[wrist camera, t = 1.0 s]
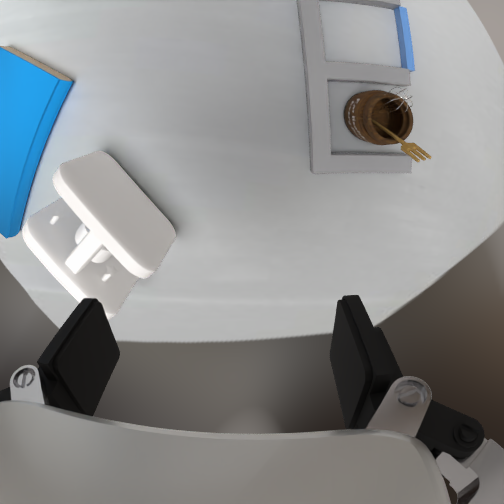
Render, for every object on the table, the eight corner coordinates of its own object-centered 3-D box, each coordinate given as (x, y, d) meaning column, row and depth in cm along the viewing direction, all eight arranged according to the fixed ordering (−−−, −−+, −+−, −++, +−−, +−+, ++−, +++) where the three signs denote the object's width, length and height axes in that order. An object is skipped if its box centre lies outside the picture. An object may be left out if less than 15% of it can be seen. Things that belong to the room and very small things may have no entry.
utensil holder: (380, 87, 29) (434, 81, 18) (395, 137, 31) (451, 153, 20) (335, 97, 30) (374, 92, 19) (351, 149, 32) (395, 169, 21)
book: (-46, 189, 30) (-8, 44, 20) (-30, 181, 34) (10, 45, 24) (9, 241, 34) (59, 79, 25) (25, 230, 38) (78, 80, 28)
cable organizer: (186, 234, 37) (160, 283, 27) (134, 277, 40) (102, 330, 30) (108, 146, 32) (53, 165, 22) (64, 201, 35) (12, 234, 25)
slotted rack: (294, -15, 23) (296, -21, 22) (398, -2, 23) (405, -7, 21) (310, 170, 33) (313, 173, 32) (410, 169, 33) (418, 173, 31)
